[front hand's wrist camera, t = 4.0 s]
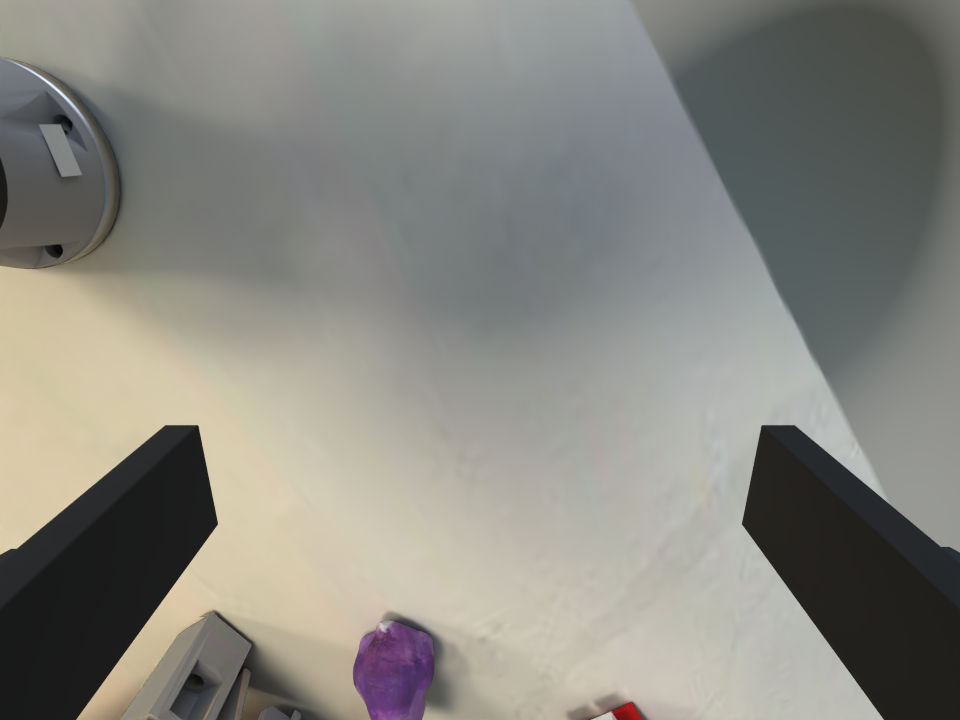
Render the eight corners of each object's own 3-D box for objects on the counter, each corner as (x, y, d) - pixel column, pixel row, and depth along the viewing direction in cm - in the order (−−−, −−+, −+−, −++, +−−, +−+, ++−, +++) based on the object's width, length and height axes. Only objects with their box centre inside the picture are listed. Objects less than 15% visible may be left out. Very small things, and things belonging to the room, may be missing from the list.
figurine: (422, 697, 62) (405, 855, 47) (342, 661, 60) (300, 815, 46) (465, 644, 59) (461, 795, 45) (383, 605, 57) (351, 750, 43)
